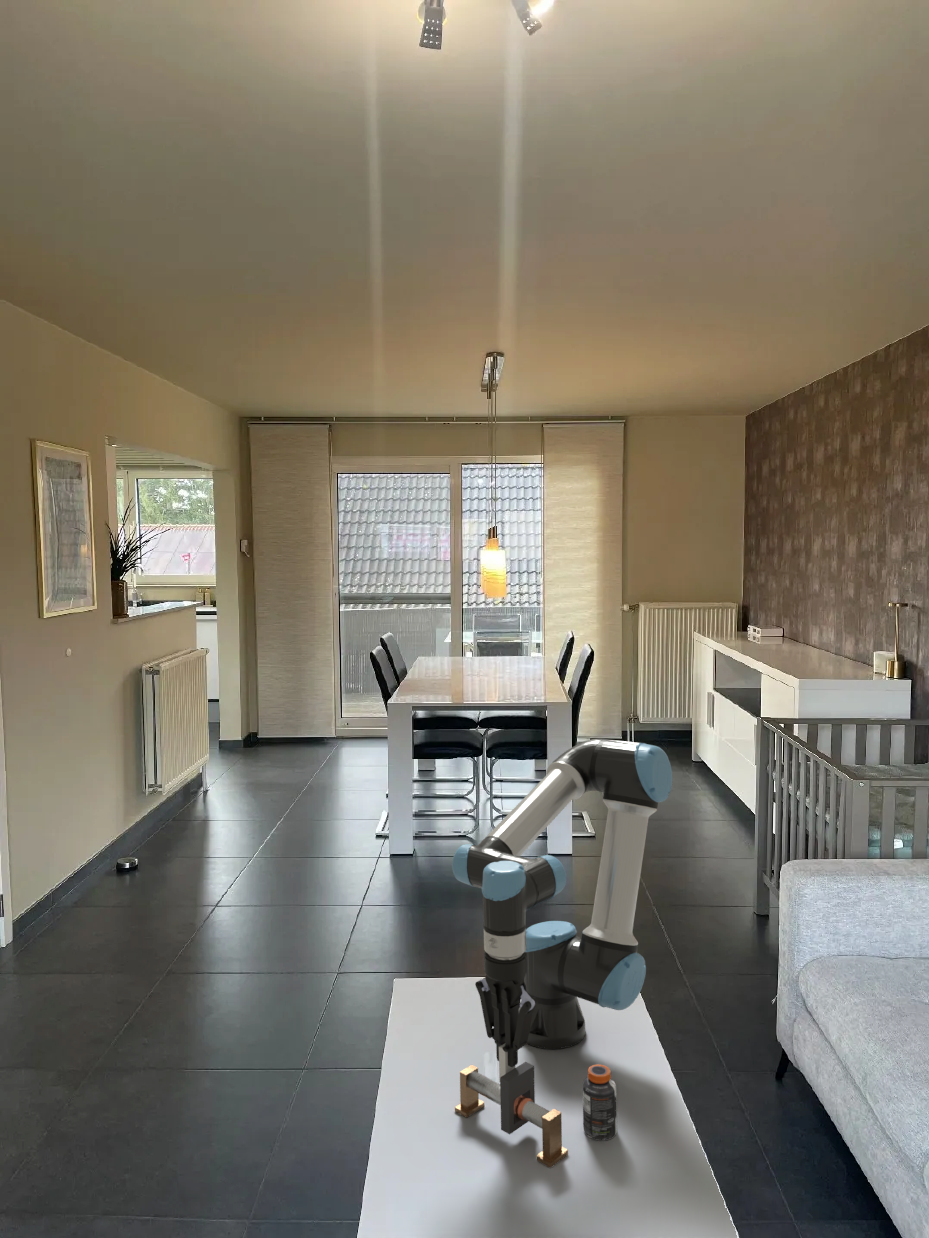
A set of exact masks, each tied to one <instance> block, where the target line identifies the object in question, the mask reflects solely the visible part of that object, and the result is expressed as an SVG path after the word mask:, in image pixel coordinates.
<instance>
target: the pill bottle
mask: <svg viewBox="0 0 929 1238" xmlns="http://www.w3.org/2000/svg"><path fill="white" fill-rule="evenodd" d="M611 1073H612V1072H611V1068H610V1067H608V1066H606V1065H604V1064H598V1063H597V1064H593V1065H590V1066H589V1067H588V1069H587V1076H586V1078H584V1080H583V1082H582V1114H583V1115H582V1118H583V1119H582V1122H583V1123H582V1124H583V1132H584V1133H585V1135H586V1136H588V1137H589V1138H591V1139H593V1140H595V1141H608V1140H611V1139H613V1138H614V1137H615V1136H616V1135H617V1131H618V1121H617V1120H618V1119H617V1118H618V1115H617V1112H618V1110H617V1109H618V1108H617V1084H616V1083H615V1081H614V1079H612V1075H611Z"/></svg>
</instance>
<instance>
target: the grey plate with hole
mask: <svg viewBox="0 0 929 1238" xmlns="http://www.w3.org/2000/svg"><path fill="white" fill-rule="evenodd" d="M499 1084H500V1098H501V1105H500V1130H501V1131H503V1132H504V1133H506V1134H508V1135H511V1134H513V1133H514V1132H515V1131H517V1130H518V1129H520V1128H521V1127H523V1126H524V1125H525V1124H527V1123H529V1121H527V1120H526V1121H524V1120H522V1119H520V1118H519V1117H517V1116H515V1115H514V1100H515V1099H516V1098H518V1097H519V1096H521V1095H524V1096H526V1097H528V1098H530V1099H531V1100H533V1102H534V1103H536V1099H535V1097H536V1095H535V1065H534V1064H531V1063H530V1062H528V1061H524V1062H523V1063H521V1064H520V1065H518V1066H515V1069H513V1070H511V1071H510V1072H508V1073H506V1074H505V1075H503V1076H502V1077H500V1082H499Z"/></svg>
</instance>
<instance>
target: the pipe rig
mask: <svg viewBox="0 0 929 1238" xmlns="http://www.w3.org/2000/svg"><path fill="white" fill-rule="evenodd" d="M459 1092H460V1093H459V1094H460V1095H459V1097H460V1099H459V1101H460V1103H459V1104H457V1105H455V1106H454V1112H456V1113H457V1114H459V1115H461V1116H462V1117H464V1118H465V1119H467V1118H469V1117H470V1116H472V1115H473V1114H475V1113H476V1112H479V1110H481V1109H483V1108H484V1107H485V1102H484V1101H483V1100H482V1099H479V1095H481V1096H483V1097H484V1098H486V1099H488V1100H490V1101H491V1102H493V1103H495V1104H497V1105H498V1106H501V1098H500V1082H496V1081H495V1080H493V1079H491V1078H489V1077H487V1076H486V1075H484V1074H482V1073H480V1072H479V1068H478V1067H477V1066H476V1065H474V1064H470V1065H469V1066H467V1067H465V1068H464V1069H462V1070H461V1071H459ZM514 1115H515V1116H517V1117H519V1118H520V1119H522V1120H524V1121H526V1120H527V1121H528V1123H531V1124H532V1125H535V1126H536V1127H538V1128H539V1129H541V1130H542V1131H541V1132H542V1134H541V1135H542V1140H541V1141H542V1151H540V1152H539V1153H538V1154H537V1155H536V1161H538V1162H539V1163H541V1164H542V1165H544V1166H546V1167H547V1168H549V1169H551V1168H553V1167H554V1166H556V1164H558V1163H559V1162H561V1160H563V1159H564V1158H565V1157H567V1156H568V1155H569V1149H567V1148H565V1147H563V1138H562V1137H563V1136H562V1135H563V1133H562V1131H563V1130H562V1124H563V1123H562V1111H559V1110H557V1109H556V1108H553V1109H551V1110H549V1109H547V1108H544V1107H543V1106H541V1105H539V1104H537V1103H536V1102H535V1103H534V1102H533V1100H531V1099H530V1098H528V1097H526V1096H524V1095H521V1096H519V1097H518V1098H516V1099H515V1100H514Z"/></svg>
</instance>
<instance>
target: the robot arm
mask: <svg viewBox="0 0 929 1238" xmlns="http://www.w3.org/2000/svg"><path fill="white" fill-rule="evenodd" d="M672 785H673V770H672V766H671V762H670V760H669V757H668V755H667V753H666V752H665V750H663V749H662V748H661V747H660V746H657V745H653V744H647V743H645V742H633V741H624V740H615V739H608V738H593V739H589V740H585V741H581V742H579V743H578V744H576V745H574V746H572V747H571V748H569V749H568V750H565V751H564V752H563V753H561V754H560V755H559V756H558V757H557V758H556V759H554V760H553V761H552V762H551V763H550V764H549V765H548V766H547V769H546V775H545V776H544V777H543V778H542V779H541V780H540V781H539V782H538V783H537V784H536V785H535V787H533V788H532V789H531V790H530V791H529V793H527V794H526V796H524V798H523V799H521V800H520V802H519V803H517V804H516V805H515V807H513V809H512V810H511V811H510V812H509V813H508V814H507V815H506V816H505V817H504V818H503V819H501V821H499V823H498V824H497V825H496V826H495V827H494V828H493V829H492V830H491V831H490V832H489V833H488V834H487V836H485V838H484V839H483V840H481V842H480V843H478V844H477V845H476V844H473V843H471V844H469V843H466V844H462V845H460V846H459V847H458V848H457V849H456V851H455V853H454V855H453V856H452V863H451V869H452V872H453V873H452V874H453V876H454V878H455V879H456V880H457V881H459V882H460V883H463V884H465V885H468V886H470V887H472V888H479V889H481V893H482V907H483V909H482V911H483V925H482V926H483V950H484V953H483V969H484V970H483V972H484V974H485V977H483V978H481V979H480V980H478V981H476V982H475V988H476V990H477V992H478V994H479V995H478V996H479V1000H480V1005H481V1010H482V1016H483V1019H484V1025H485V1031H486V1035H487V1038H489V1039H493V1041H494V1044H495V1046H496V1047H495V1048H496V1049H495V1050H496V1060H497V1061H498V1073H499V1075H498V1076H499V1077H498V1078H499V1079H498V1080H499V1082H498V1083H500V1077H502V1076H503V1075H505V1074H506V1073H508V1072H510V1071H511V1070H513V1069H515V1068H516V1066H517V1065H518V1063H519V1055H518V1054H519V1053H518V1051H519V1050H520V1049H522V1048H523V1047H525V1046H527V1045H529V1046H532V1047H534V1048H535V1047H536V1048H538V1049H544V1050H558V1049H559V1050H560V1049H565V1048H569V1047H573V1046H575V1045H576V1044H579V1043H580V1042H581V1041H582V1040H583V1039H584V1037H585V1036H586V1020H585V1016H584V1014H583V1011H582V1009H581V1005H580V1002H579V999H581V1000H584V1001H587V1002H590V1003H593V1004H596V1005H598V1006H600V1007H601V1008H607V1009H611V1010H615V1011H623V1010H624V1011H625V1010H626V1009H627V1008H629V1007H630V1006H631V1005H632V1004H633V1003H634V1002H635V1001H636V999H637V998H638V996H639V994H640V993H641V991H642V988H643V985H644V982H645V979H646V972H647V966H646V960H645V957H643V956H642V955H641V954H640V953H639V952H638V946H639V942H638V940H637V939H636V937H635V936H634V933H633V929H634V921H635V917H636V916H635V913H636V909H637V902H638V901H637V900H638V894H639V886H640V879H641V873H642V865H643V858H644V853H645V852H644V851H645V846H646V837H647V831H648V824H649V818H650V817H651V816H652V815H653V814H654V813H656V812H657V811H658V805H659V803H662V802H665V801H666V800H667V799H668V798H669V796H670V795H669V794H671V790H672ZM593 791H594V792H599V793H603V797H602V802H603V803H604V805H605V806H606V808H607V817H606V822H605V823H606V824H605V830H604V837H603V842H602V843H603V844H602V849H601V850H602V851H601V855H600V862H599V867H598V868H599V869H598V875H597V882H596V889H595V896H594V901H593V903H594V904H593V909H592V914H591V920H590V922H591V923H590V924H589V925H588V926H587V927H585V928H584V929H583V930H582V933H581V937H580V936H578V935H577V933H578V930H577V929H576V926H575V925H574V924H573V923H571V922H568V921H563V920H549V921H543V922H539V923H535V924H532V925H530V926H529V927H527V928H526V923H527V921H526V913H527V911H528V910H531V909H533V908H535V907H537V906H538V905H540V904H541V905H542V904H543V903H545V902H547V901H548V900H552V899H553V898H555V896H556V895H558V894H560V893H561V892H562V891H563V890H564V888H565V887H566V884H567V871H566V870H565V867H564V865H563V863H562V862H561V861H560V859H558V858H557V857H555V856H553V855H551V854H546V855H545V854H544V855H540V856H537V857H534V858H529V857H525V856H522V855H523V854H524V853H525V852H526V851H527V849H528V848H529V847H530V846H531V845H532V844H533V843H534V842H535V840H537V838H538V837H539V836H540V835H541V834H542V833H543V832H544V831H545V830H546V829H547V828H548V826H549V825H550V824H551V823H552V822H553V821H554V820H555V818H557V817H558V816H559V814H560V813H561V812H562V811H563V810H564V809H565V808H566V807H567V806H568V805H569V804H570V802H571V801H577V800H578V799H580V798H582V796H583V795H584V794H586V793H588V792H593ZM578 998H579V999H578Z"/></svg>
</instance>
